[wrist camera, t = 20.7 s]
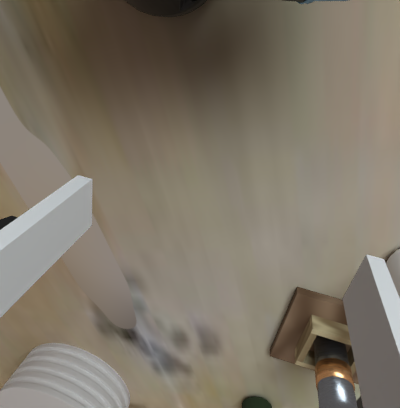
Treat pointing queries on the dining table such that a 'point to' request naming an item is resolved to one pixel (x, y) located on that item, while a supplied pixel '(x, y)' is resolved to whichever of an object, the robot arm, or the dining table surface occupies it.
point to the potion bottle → (395, 269)
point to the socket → (311, 329)
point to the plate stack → (64, 381)
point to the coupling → (333, 374)
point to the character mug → (256, 403)
